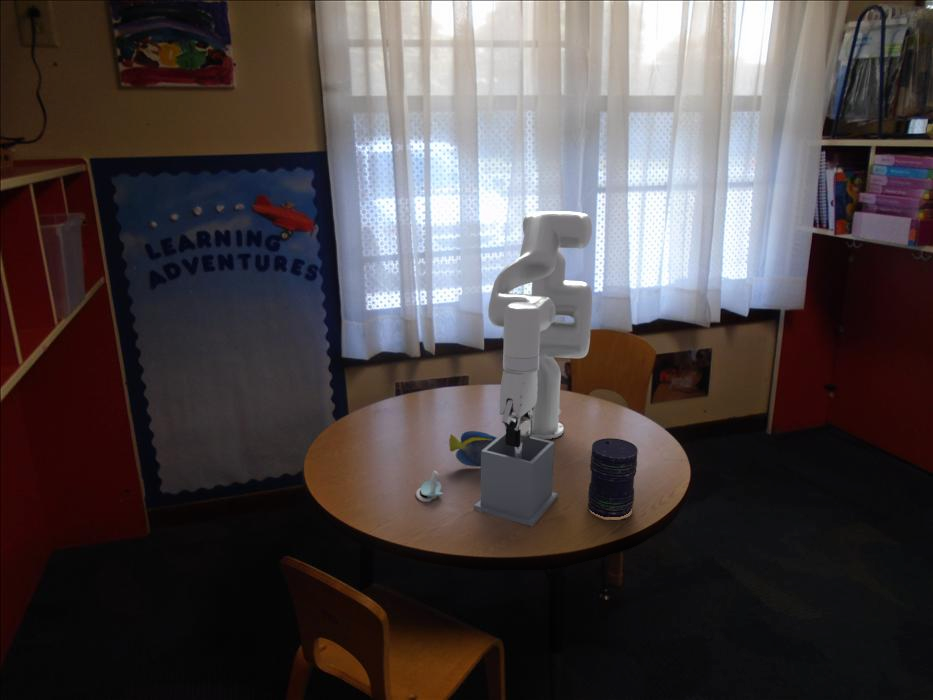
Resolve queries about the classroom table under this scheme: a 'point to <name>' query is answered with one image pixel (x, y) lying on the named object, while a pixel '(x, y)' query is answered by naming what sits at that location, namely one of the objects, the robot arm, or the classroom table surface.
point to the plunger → (522, 434)
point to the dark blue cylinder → (612, 477)
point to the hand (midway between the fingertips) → (518, 439)
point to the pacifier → (430, 488)
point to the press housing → (517, 480)
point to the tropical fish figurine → (470, 446)
